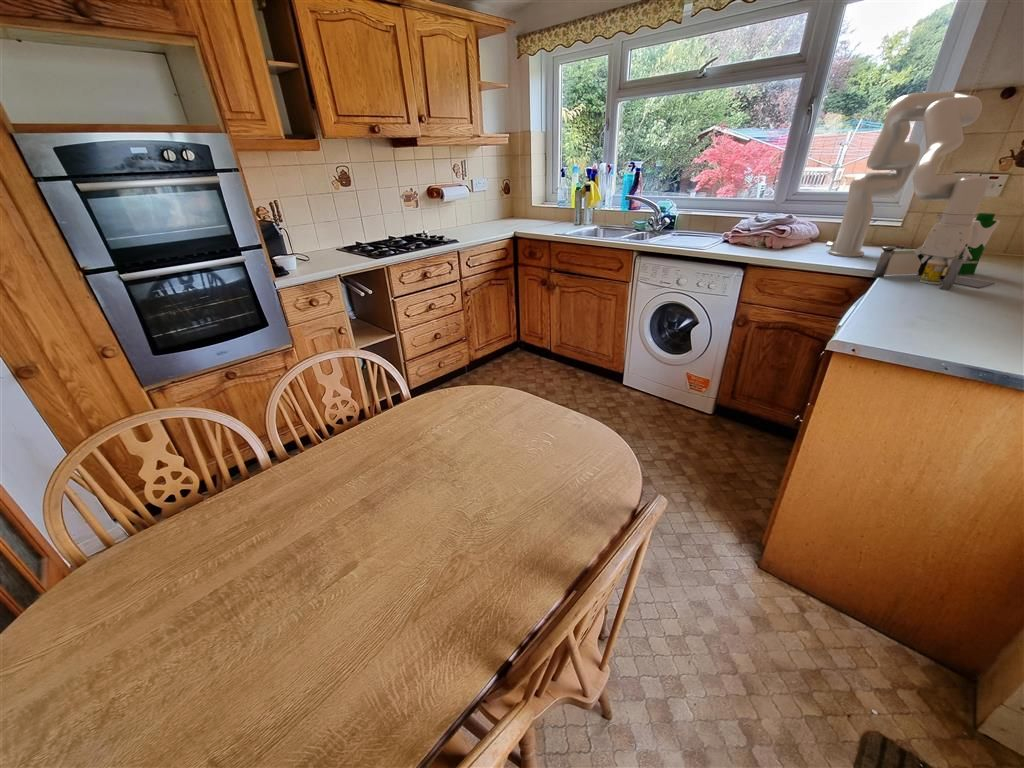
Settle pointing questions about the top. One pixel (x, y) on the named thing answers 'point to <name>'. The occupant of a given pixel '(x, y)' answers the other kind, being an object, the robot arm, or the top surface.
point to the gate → (903, 263)
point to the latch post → (951, 273)
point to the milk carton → (978, 240)
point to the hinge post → (883, 261)
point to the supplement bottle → (934, 270)
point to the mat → (971, 282)
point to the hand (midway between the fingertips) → (932, 276)
